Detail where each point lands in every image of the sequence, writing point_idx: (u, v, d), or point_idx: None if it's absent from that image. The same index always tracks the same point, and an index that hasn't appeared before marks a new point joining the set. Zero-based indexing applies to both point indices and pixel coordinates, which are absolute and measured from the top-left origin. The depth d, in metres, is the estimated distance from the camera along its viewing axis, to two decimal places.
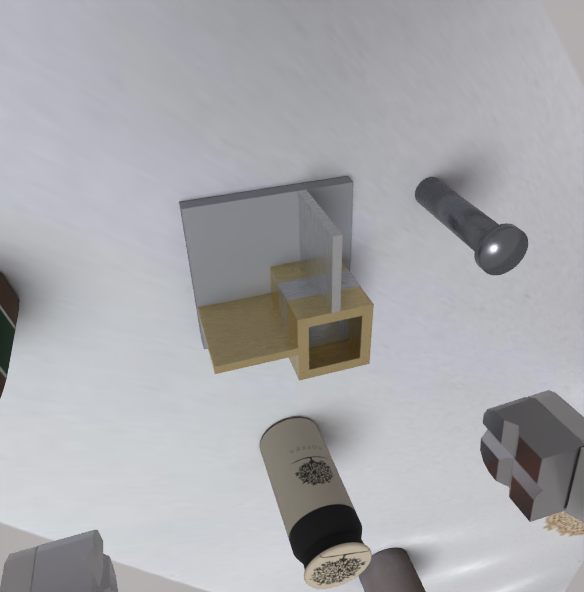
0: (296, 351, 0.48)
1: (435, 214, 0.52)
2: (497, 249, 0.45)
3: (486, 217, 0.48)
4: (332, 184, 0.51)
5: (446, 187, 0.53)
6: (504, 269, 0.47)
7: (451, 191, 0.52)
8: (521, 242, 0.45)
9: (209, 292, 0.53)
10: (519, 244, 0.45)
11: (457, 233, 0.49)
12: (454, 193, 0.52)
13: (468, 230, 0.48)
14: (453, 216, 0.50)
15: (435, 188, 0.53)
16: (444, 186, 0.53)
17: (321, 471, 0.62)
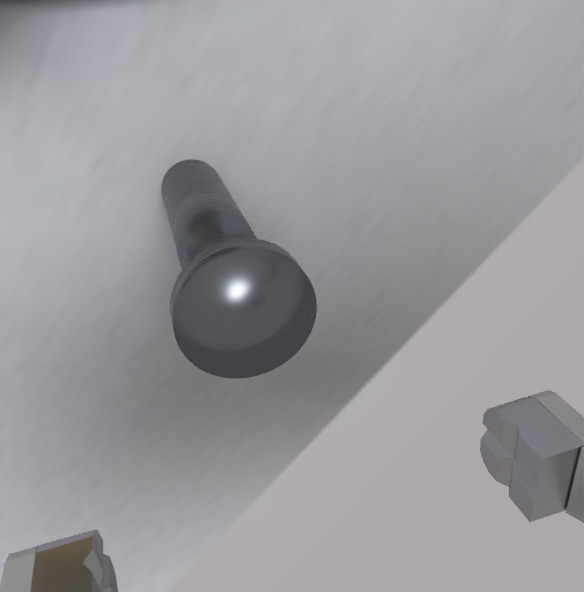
0: None
1: (187, 188, 0.23)
2: (259, 292, 0.16)
3: None
4: None
5: None
6: (193, 339, 0.16)
7: None
8: (274, 352, 0.17)
9: None
10: (267, 348, 0.17)
11: (200, 221, 0.20)
12: None
13: (236, 231, 0.19)
14: (226, 207, 0.21)
15: (224, 185, 0.25)
16: None
17: None
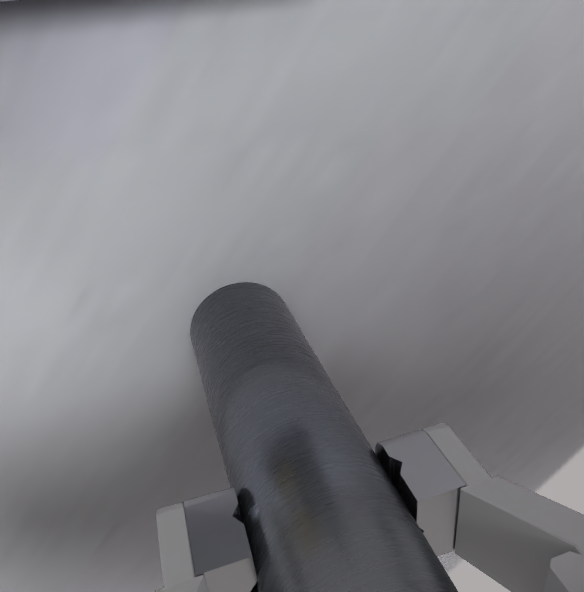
0: None
1: (251, 372, 0.12)
2: None
3: None
4: None
5: None
6: None
7: None
8: None
9: None
10: None
11: (308, 518, 0.09)
12: None
13: (412, 579, 0.08)
14: (347, 451, 0.10)
15: (305, 338, 0.14)
16: None
17: None
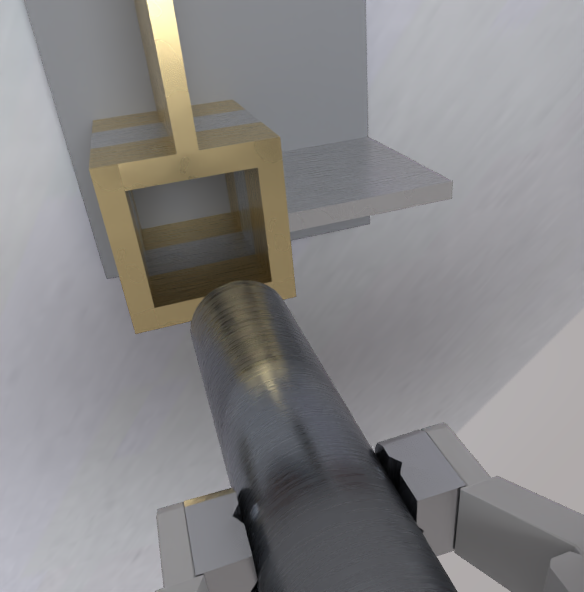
0: (189, 147, 0.20)
1: (250, 368, 0.12)
2: None
3: None
4: None
5: None
6: None
7: None
8: None
9: None
10: None
11: (305, 509, 0.09)
12: None
13: (405, 568, 0.08)
14: (344, 445, 0.10)
15: None
16: None
17: None
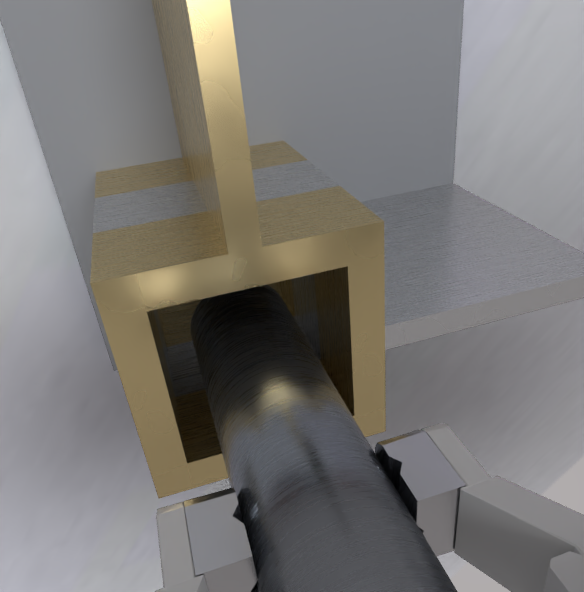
0: (247, 243, 0.13)
1: (250, 367, 0.12)
2: None
3: None
4: None
5: None
6: None
7: None
8: None
9: None
10: None
11: (304, 507, 0.09)
12: None
13: (404, 566, 0.08)
14: (343, 443, 0.10)
15: (303, 335, 0.15)
16: None
17: None
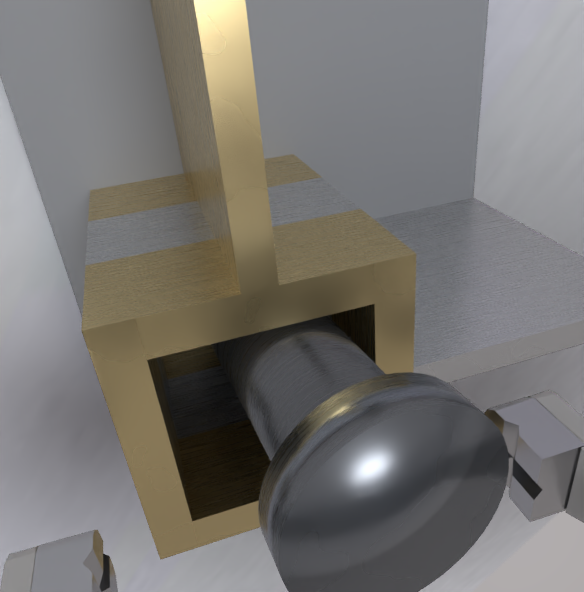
0: (262, 282, 0.11)
1: None
2: (426, 472, 0.09)
3: None
4: None
5: None
6: (311, 570, 0.09)
7: None
8: (435, 558, 0.10)
9: None
10: (426, 555, 0.10)
11: None
12: None
13: (336, 342, 0.12)
14: None
15: None
16: None
17: None
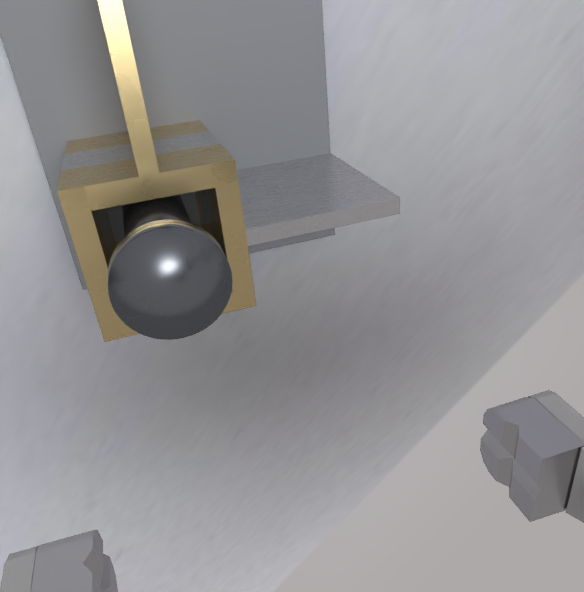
0: (150, 170, 0.21)
1: None
2: (180, 264, 0.19)
3: None
4: None
5: None
6: (126, 304, 0.19)
7: None
8: (198, 317, 0.20)
9: None
10: (192, 313, 0.20)
11: (141, 210, 0.23)
12: None
13: (170, 217, 0.22)
14: (166, 198, 0.24)
15: None
16: None
17: None
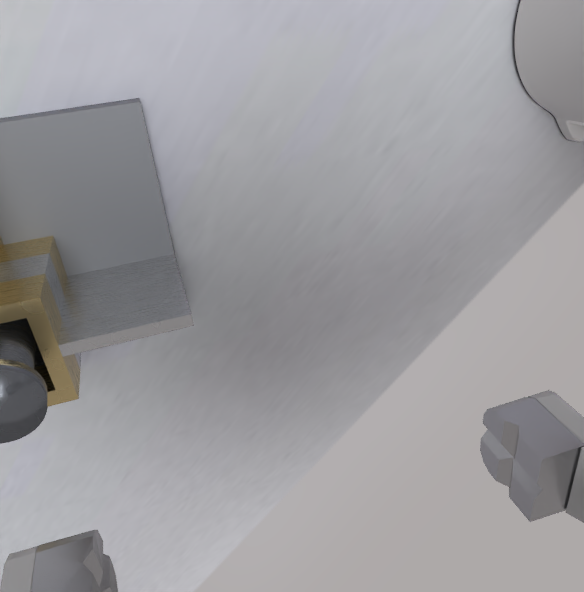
0: None
1: None
2: (2, 393, 0.26)
3: None
4: None
5: None
6: None
7: None
8: (23, 425, 0.28)
9: None
10: (17, 423, 0.27)
11: None
12: None
13: (4, 345, 0.29)
14: None
15: None
16: None
17: None
